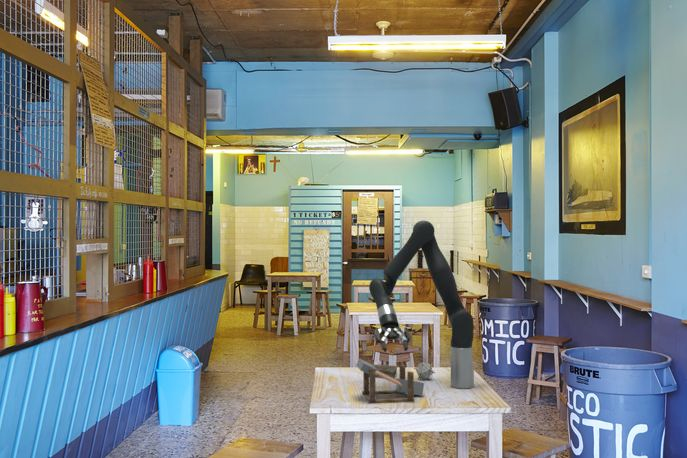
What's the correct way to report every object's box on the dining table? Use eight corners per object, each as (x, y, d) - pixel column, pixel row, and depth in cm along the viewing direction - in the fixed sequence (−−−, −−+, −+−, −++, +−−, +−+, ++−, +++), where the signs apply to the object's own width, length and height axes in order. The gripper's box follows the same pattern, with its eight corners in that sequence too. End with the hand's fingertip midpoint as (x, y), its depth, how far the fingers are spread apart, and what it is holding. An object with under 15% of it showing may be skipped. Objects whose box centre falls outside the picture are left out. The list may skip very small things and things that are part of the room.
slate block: (395, 390, 250) (419, 394, 251) (398, 392, 245) (422, 395, 247) (397, 378, 251) (420, 381, 252) (400, 379, 246) (424, 383, 247)
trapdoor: (394, 383, 251) (397, 377, 252) (400, 389, 241) (403, 382, 241) (355, 365, 249) (359, 358, 250) (360, 370, 239) (363, 363, 239)
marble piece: (393, 380, 279) (393, 371, 279) (361, 378, 282) (361, 369, 283) (398, 372, 295) (398, 364, 295) (368, 371, 299) (368, 362, 299)
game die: (428, 387, 280) (441, 369, 280) (421, 383, 274) (434, 366, 273) (414, 375, 286) (428, 358, 286) (407, 371, 279) (420, 354, 279)
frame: (404, 392, 254) (404, 361, 255) (414, 401, 239) (414, 368, 239) (362, 393, 252) (362, 362, 252) (369, 403, 237) (369, 369, 237)
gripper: (373, 312, 253) (380, 345, 241) (406, 312, 256) (415, 344, 244) (369, 324, 258) (377, 356, 246) (402, 323, 261) (410, 355, 249)
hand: (395, 350), depth 245 cm, fingers open, 8 cm apart
